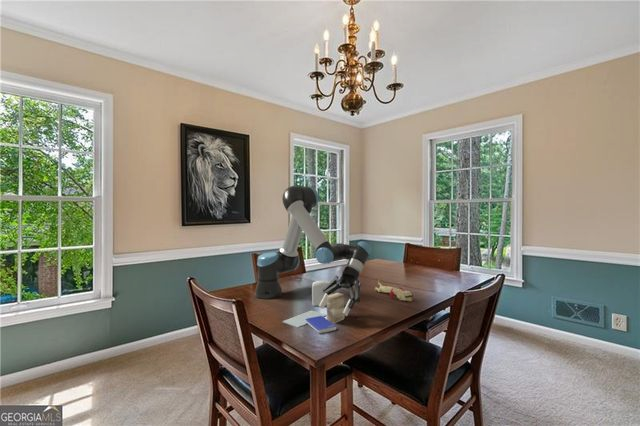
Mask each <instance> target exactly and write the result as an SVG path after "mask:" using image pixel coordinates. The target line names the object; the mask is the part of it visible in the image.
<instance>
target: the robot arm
mask: <svg viewBox="0 0 640 426" xmlns="http://www.w3.org/2000/svg"><path fill="white" fill-rule="evenodd" d="M281 199H282V204H283V207H284V209H285V210H286V212H287V213H288V214H290V215H291V217H290V221H289V224H288V228H287V231H286V235H285V238H284V242H283V245H282V246H281V247H280V248H279V250H278V252H274V251H273V252H271V251H270V252H265V253H262V254H260V255H258V256H257V262H256V265H257V284H256V287H255V291H254V297H255V298H257V299H262V300H264V299H269V300H270V299H274V298H275V299H276V298H279V297H281V296H282V294H283V291H282V286H281V285H280V280H279V275H280V274H281V275H282V274H285V273H291V272H293V271H295V270H297V269H298V268H299V266H300V262H301V260H300V255H299V252H298V247H299V244H300V241H301V237H302V234H303V233H304V235H305V236H306V237H307V239H308V240H309V242H310V244H311V245H312V247H313V248H314V249H315V251H316V252H315V257H316V261H317V262H318V263H320V264H323V265H327V264H331V263H334V262H339V261H343V260H348V261H347V263H346V265H345V267H344V269H343V271H342V274H341V276H340V277H339V276H338V275H335V276H334V278H333V279H331V281H329V282H330V283H329V284H328V285H327V286H325V287H324V288H323V289H322V291H323V292H324V295H323V297H322V301H321V302H320V304H319V306H318V307H320V308H321V309H322V310H324V308H325V307H326V306H325V304H326V302H327V296H329V295H330V294H331V293H332V294H334V292H336V291H338V290H339V289H346V290H348V291H349V296H350V298H349V299H348V301H347V303H346V305H345V306H344V311H343V313H344V317H347V316H349V313H350V311H351V310H352V309H353V307H354V305H355V303H357V302H358V303H360V302H361V287H362V282H361V281H360V280H359V278H360V274H361V273H362V272H363V269H364V267H365V264H366V262H367V261H368V259H369V257H370V254H371V252H372V246H371V244H369V243H368V242H366V241H363V240H361V241H358V242H357V244H356V245H354V244H353V245H352V244H346V243H341V242H338V243H334V245H332V243H331V242H330V241H329V240H328V238H327V237H326V235H325V234H324V233H323V231H322V230H321V228H320V227H319V226H318V224H317V223H316V221H315V220H314V218H313V217H312V216H311V213H312V211H313V208H314V207H315V208H316V206H318V204H319V202H320V196H319V194H318V190H316V189H315V188H314V187H311V186H305V185H304V186H303V185H302V186H299V185H292V186H288V187H287V188H286V189H284V192H283V194H282V198H281ZM354 285H355V286H354ZM353 286H354V287H353ZM354 288H355V289H354ZM354 291H355V292H354Z"/></svg>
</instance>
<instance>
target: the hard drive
mask: <svg viewBox="0 0 640 426" xmlns="http://www.w3.org/2000/svg"><path fill="white" fill-rule="evenodd" d="M305 322H306V323H307V324H306V325H309V326H310V327H311V328H312V329H313V330H314V331H315V332H317V333H318V334H323V333H328V332H331V331H336V330H337V325H335V324H334V323H331V322H330V321H328V320H327V317H326V318H325V317H323V316H318V317H312V318H307V319H305Z"/></svg>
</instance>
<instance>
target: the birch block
mask: <svg viewBox="0 0 640 426" xmlns="http://www.w3.org/2000/svg"><path fill="white" fill-rule="evenodd" d="M344 309H345V294H344V293H340V292H335V293H332V295H329V296H327V306H326V316H327V317H326V319H327V320H328V321H330V322H331V323H332V324H334V325H335V324H336V323H338V322H341V321H343V320H344V319H345V315H344V313H343V311H344Z"/></svg>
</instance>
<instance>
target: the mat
mask: <svg viewBox="0 0 640 426" xmlns="http://www.w3.org/2000/svg"><path fill="white" fill-rule="evenodd" d="M318 316H323V317H324V318H325V317H326V316H327V314H324V313H322V312H318V311H315V310H309V311H306V312H303V313H301V314H299V315H296V316H293V317H291V318H290V317H289V318H288V319H284V320H282V323H284V324H286V325H289V326H291V327H294V328H296V329H298V328H301V327H303V326H306V325H308V324H307V323H306V322H305V319H307V318H312V317H318Z"/></svg>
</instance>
